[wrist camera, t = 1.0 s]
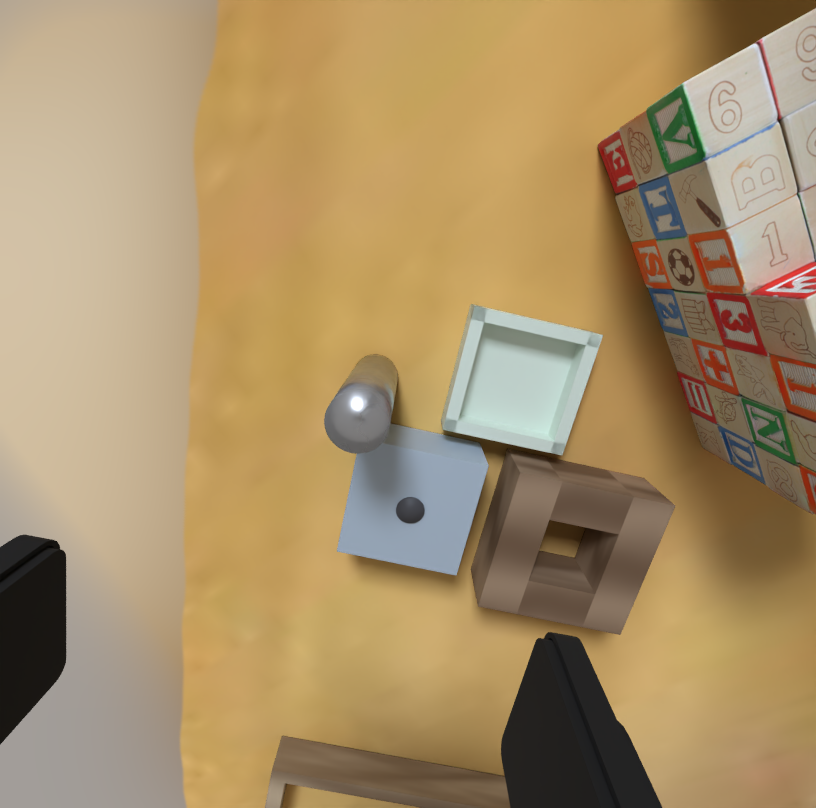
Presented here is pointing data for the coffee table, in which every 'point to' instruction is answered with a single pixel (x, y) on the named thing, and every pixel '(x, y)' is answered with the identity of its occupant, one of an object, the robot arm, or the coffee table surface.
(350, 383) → the cylinder
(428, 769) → the rectangular wooden corral frame
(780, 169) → the stack of blocks
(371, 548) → the block
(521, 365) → the tray
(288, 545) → the coffee table surface
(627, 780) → the robot arm
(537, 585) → the square-holed wooden block
